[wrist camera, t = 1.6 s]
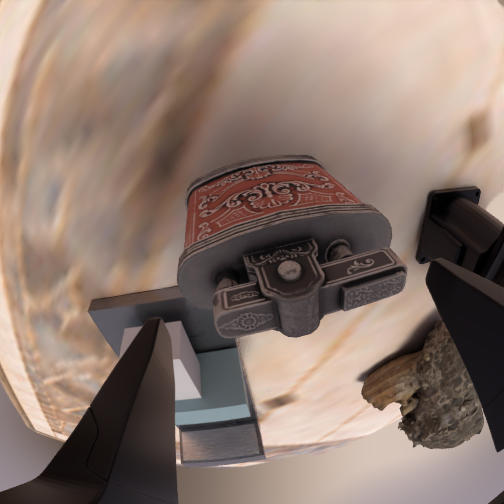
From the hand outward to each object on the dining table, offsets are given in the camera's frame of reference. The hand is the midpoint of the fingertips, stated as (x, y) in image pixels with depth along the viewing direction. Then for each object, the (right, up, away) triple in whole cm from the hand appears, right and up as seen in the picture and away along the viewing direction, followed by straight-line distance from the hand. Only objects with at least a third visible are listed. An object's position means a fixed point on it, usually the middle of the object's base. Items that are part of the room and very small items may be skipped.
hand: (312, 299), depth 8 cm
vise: (-7, -12, +18) cm, 23 cm away
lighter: (-2, +5, +8) cm, 10 cm away
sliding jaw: (-8, -6, +12) cm, 16 cm away
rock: (+19, -12, +23) cm, 32 cm away
